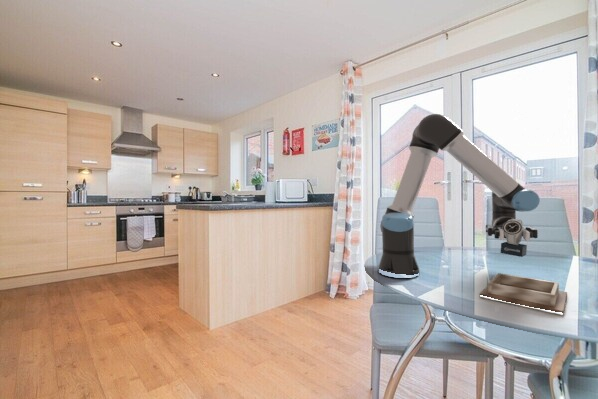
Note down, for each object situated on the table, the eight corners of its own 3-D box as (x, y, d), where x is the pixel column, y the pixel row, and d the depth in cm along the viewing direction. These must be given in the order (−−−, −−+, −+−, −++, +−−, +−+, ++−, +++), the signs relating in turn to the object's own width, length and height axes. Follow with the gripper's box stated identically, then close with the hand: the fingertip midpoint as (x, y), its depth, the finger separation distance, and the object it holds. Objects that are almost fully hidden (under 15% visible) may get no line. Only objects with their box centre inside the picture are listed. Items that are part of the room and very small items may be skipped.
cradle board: (479, 297, 82) (479, 283, 82) (494, 282, 95) (493, 270, 95) (563, 315, 69) (563, 299, 69) (567, 296, 82) (567, 282, 82)
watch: (498, 253, 87) (500, 219, 86) (506, 250, 92) (509, 217, 91) (520, 258, 83) (523, 221, 82) (528, 253, 88) (530, 219, 87)
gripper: (539, 238, 98) (556, 251, 78) (477, 235, 107) (478, 246, 88) (538, 217, 98) (556, 225, 78) (476, 216, 107) (478, 222, 88)
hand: (514, 236), depth 83 cm, fingers closed on watch, 5 cm apart
